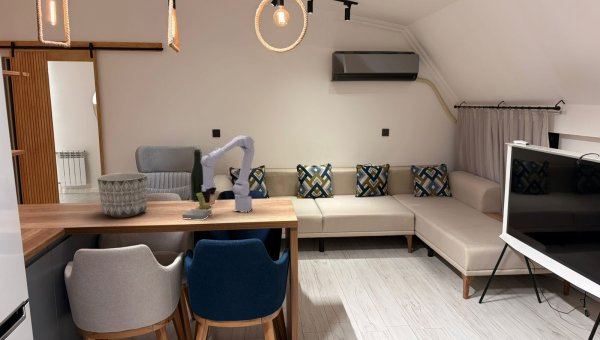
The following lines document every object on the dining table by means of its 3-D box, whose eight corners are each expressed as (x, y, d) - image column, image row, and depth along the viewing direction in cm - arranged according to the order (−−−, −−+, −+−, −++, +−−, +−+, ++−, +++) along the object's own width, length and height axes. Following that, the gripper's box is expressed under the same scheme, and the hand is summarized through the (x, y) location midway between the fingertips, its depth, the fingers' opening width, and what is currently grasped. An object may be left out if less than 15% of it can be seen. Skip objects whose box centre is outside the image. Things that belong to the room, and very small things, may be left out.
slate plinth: (211, 215, 250) (211, 210, 250) (203, 221, 238) (203, 215, 238) (192, 214, 252) (191, 209, 252) (182, 220, 241) (182, 214, 240)
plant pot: (194, 209, 262) (193, 194, 261) (202, 205, 271) (201, 191, 270) (208, 210, 260) (207, 195, 258) (215, 206, 268) (215, 192, 267)
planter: (101, 210, 259) (98, 174, 255) (148, 206, 268) (146, 171, 264) (98, 222, 235) (95, 181, 231) (150, 217, 244) (148, 178, 240)
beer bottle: (188, 201, 281) (186, 150, 276) (193, 198, 291) (190, 148, 286) (205, 201, 281) (203, 150, 276) (208, 198, 291) (207, 148, 286)
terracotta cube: (215, 203, 246) (215, 194, 246) (212, 205, 242) (211, 196, 241) (206, 203, 247) (206, 194, 246) (203, 205, 242) (203, 196, 242)
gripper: (206, 175, 250) (207, 198, 252) (196, 179, 236) (197, 204, 238) (218, 175, 249) (219, 199, 251) (208, 180, 234) (209, 204, 237)
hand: (209, 201), depth 244 cm, fingers closed on terracotta cube, 5 cm apart
